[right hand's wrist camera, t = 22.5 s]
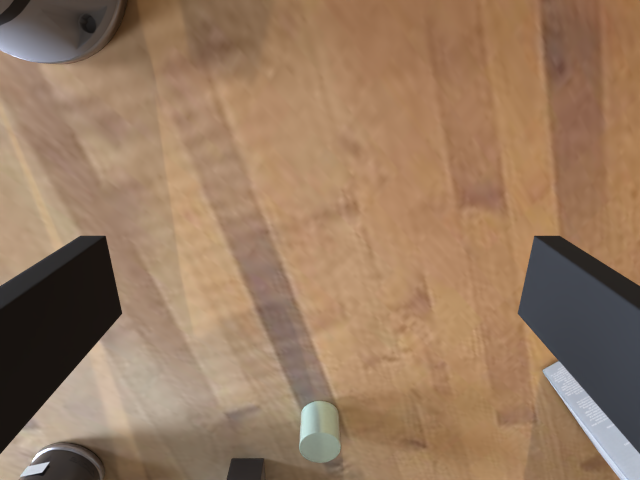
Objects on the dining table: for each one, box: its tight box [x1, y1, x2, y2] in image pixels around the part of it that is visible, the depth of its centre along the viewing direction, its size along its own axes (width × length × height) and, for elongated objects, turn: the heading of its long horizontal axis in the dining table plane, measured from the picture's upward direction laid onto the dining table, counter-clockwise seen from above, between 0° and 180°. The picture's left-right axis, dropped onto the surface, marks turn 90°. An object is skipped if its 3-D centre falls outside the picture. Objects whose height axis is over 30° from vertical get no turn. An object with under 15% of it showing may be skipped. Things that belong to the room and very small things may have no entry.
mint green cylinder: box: [299, 401, 341, 463], centre depth 49 cm, size 5×5×5 cm
